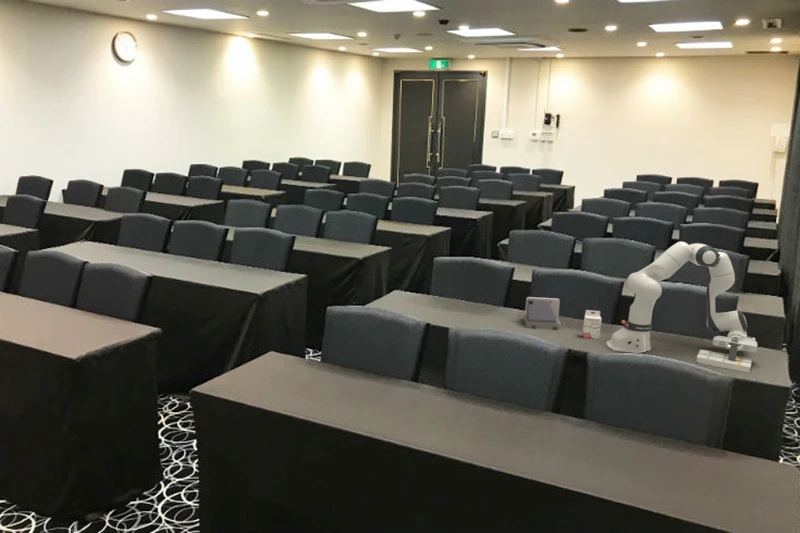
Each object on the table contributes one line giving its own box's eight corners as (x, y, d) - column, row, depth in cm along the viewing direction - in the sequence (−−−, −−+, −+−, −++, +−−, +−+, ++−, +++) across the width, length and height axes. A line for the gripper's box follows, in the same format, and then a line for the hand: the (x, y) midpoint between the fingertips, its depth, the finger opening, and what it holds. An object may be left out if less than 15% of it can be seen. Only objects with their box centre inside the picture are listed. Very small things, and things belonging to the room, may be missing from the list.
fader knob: (727, 363, 341) (730, 340, 338) (728, 360, 345) (731, 338, 342) (734, 364, 340) (738, 341, 337) (735, 362, 343) (738, 339, 341)
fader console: (696, 362, 344) (697, 356, 343) (699, 354, 356) (700, 349, 355) (749, 373, 333) (750, 367, 332) (751, 364, 344) (752, 358, 343)
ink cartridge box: (583, 338, 376) (586, 312, 372) (582, 335, 380) (584, 309, 377) (599, 339, 375) (602, 313, 371) (598, 336, 380) (600, 310, 376)
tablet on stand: (560, 321, 405) (562, 296, 402) (560, 331, 386) (562, 306, 382) (523, 317, 410) (525, 293, 406) (522, 328, 390) (524, 302, 387)
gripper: (714, 331, 356) (711, 338, 344) (758, 338, 346) (757, 346, 334) (713, 342, 357) (709, 350, 345) (756, 350, 347) (755, 358, 336)
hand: (733, 348), depth 340 cm, fingers closed on fader knob, 3 cm apart
